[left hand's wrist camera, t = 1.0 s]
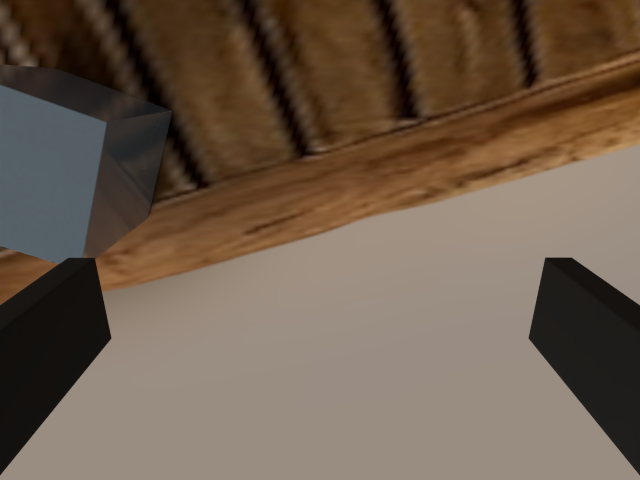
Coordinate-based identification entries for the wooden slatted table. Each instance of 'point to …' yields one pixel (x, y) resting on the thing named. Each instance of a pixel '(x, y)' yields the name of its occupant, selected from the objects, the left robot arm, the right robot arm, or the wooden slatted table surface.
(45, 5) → the wooden slatted table surface
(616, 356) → the left robot arm
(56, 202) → the block
